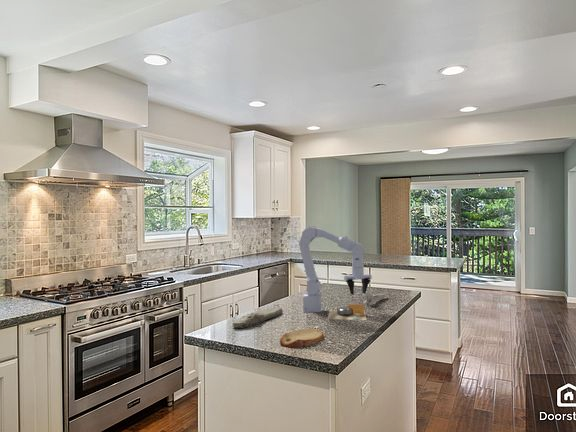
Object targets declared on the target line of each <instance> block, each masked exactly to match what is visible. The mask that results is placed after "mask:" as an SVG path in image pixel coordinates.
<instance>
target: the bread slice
mask: <svg viewBox="0 0 576 432" xmlns="http://www.w3.org/2000/svg"><path fill="white" fill-rule="evenodd" d="M323 340H324V333H323V331H322V330H319V329H317V328H313V327H312V328H303V329H299V330H294V331H290V332H285V333H284V334H283V335H282V336H281V338H280V340H279V344H280V346H281V347H283V348H287V347H288V349H292V348H304V346H305V347H308V346H309V345H310V346H313V345H315V344H317V343H320V342H321V341H323Z"/></svg>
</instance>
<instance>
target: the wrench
mask: <svg viewBox="0 0 576 432" xmlns="http://www.w3.org/2000/svg"><path fill="white" fill-rule="evenodd" d="M361 297H362V298H365V300H364V301H363V303H362V304H364V305H365V306H367V307H370V306H371V303H373V301H380V300H385V298H386V299H387V297H388V296H387V294H386V293H379V294H371V293H370V292H369V291H366V294H364V293H363V292H362V296H361Z"/></svg>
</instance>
